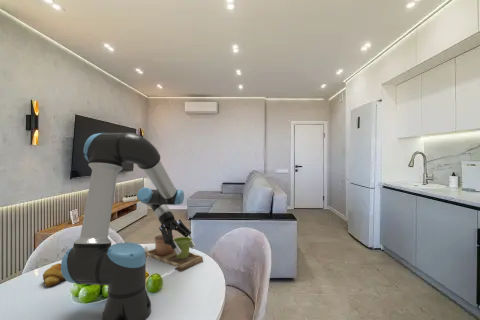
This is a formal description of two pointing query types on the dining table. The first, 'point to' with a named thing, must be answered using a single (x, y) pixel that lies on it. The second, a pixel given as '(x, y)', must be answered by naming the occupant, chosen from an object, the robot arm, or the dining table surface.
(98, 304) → the dining table surface
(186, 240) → the plant pot
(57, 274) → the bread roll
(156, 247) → the pot
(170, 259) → the pallet
